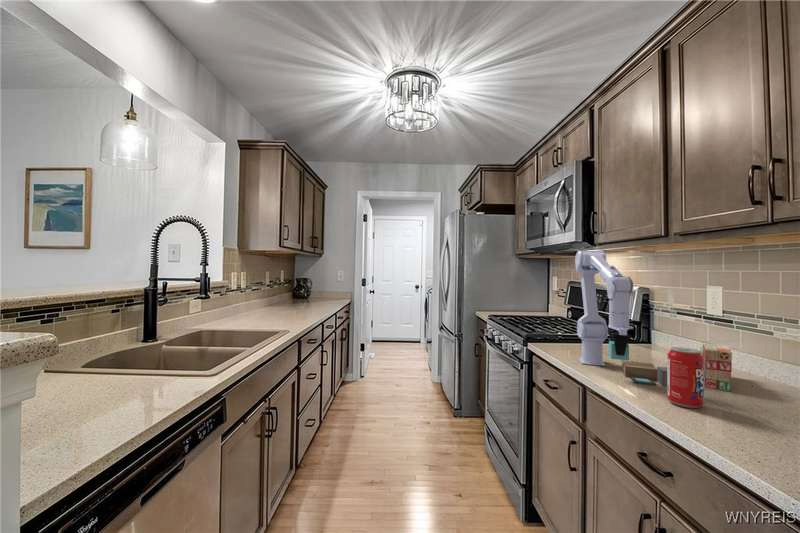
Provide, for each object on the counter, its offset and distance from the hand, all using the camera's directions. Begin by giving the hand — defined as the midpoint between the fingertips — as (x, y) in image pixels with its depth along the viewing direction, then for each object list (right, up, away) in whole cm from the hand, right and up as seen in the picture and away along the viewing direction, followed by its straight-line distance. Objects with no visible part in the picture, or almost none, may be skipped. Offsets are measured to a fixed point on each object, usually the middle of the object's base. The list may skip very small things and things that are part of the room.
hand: (618, 353), depth 121 cm
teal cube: (0, -2, 0) cm, 2 cm away
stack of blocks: (+31, -9, -1) cm, 33 cm away
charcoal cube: (+13, -9, -5) cm, 16 cm away
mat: (+6, -9, -3) cm, 11 cm away
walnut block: (+10, -9, +5) cm, 14 cm away
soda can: (+5, -9, -22) cm, 24 cm away
